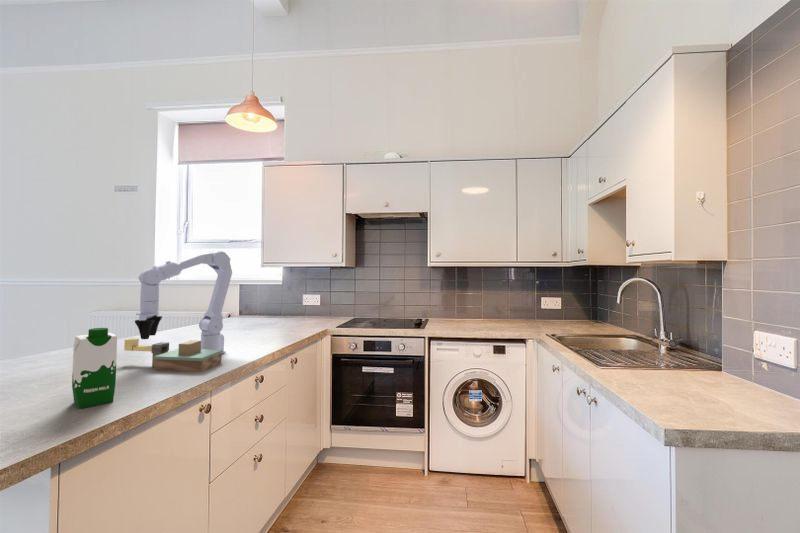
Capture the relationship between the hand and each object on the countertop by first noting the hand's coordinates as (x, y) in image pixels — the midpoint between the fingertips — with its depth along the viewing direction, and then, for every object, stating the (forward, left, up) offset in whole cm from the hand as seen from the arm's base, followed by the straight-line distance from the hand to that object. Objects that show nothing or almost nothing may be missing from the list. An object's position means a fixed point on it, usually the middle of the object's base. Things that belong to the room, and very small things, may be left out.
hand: (148, 337), depth 134 cm
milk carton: (+37, +14, -11) cm, 41 cm away
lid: (0, +16, -6) cm, 18 cm away
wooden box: (0, +14, -10) cm, 18 cm away
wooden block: (0, -2, -5) cm, 5 cm away
